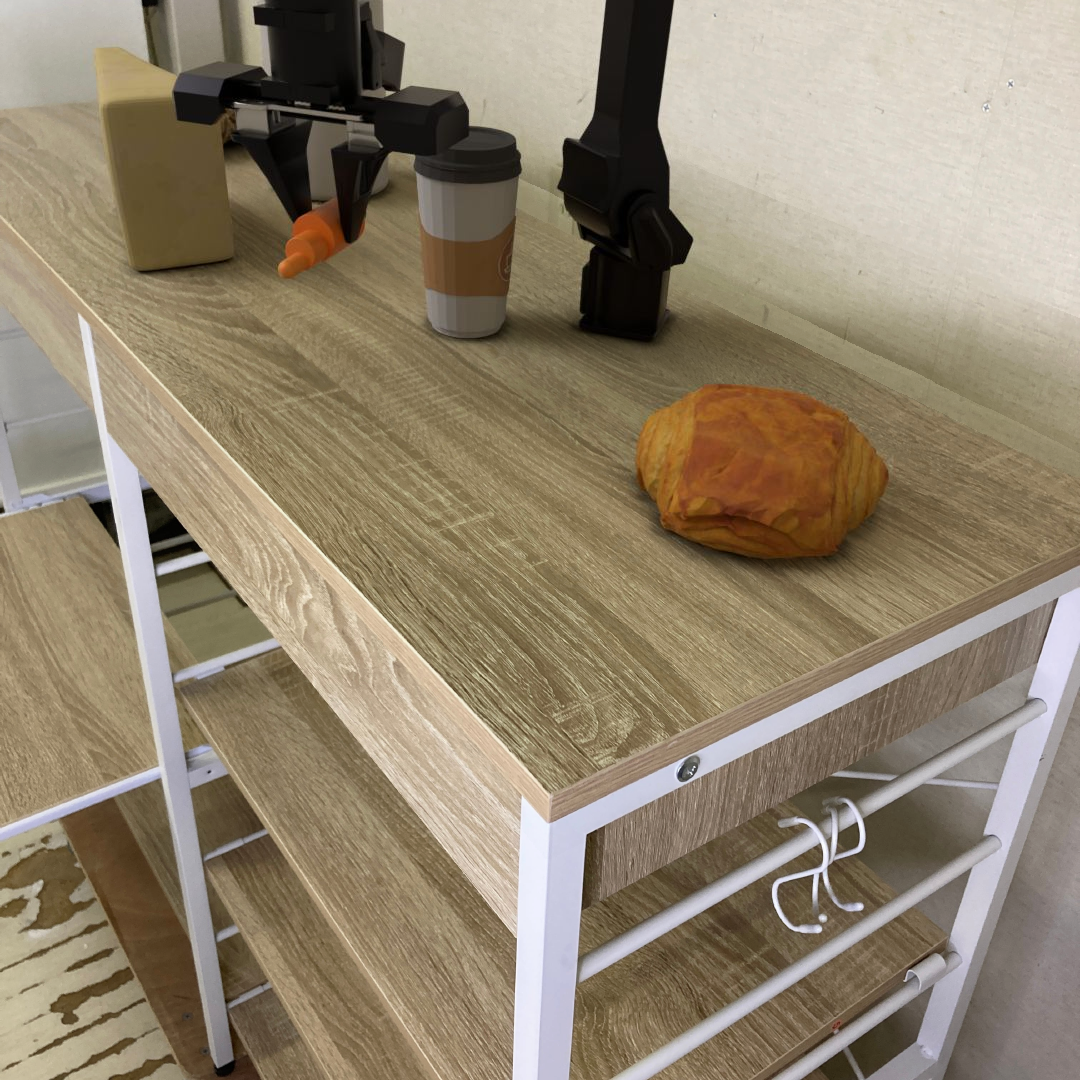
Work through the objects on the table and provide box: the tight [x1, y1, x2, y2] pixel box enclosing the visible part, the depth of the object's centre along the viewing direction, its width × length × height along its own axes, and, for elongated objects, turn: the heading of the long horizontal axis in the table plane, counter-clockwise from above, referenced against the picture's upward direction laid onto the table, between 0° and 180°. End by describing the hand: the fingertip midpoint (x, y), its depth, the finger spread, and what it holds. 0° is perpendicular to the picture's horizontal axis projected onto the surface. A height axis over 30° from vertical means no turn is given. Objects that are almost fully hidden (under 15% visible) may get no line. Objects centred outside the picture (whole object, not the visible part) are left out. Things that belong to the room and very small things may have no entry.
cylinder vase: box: [256, 0, 390, 202], centre depth 114 cm, size 12×12×25 cm
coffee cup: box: [412, 125, 523, 339], centre depth 87 cm, size 8×8×15 cm
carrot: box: [277, 198, 368, 280], centre depth 74 cm, size 10×3×3 cm, turn 160°
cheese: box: [93, 46, 235, 272], centre depth 102 cm, size 22×10×15 cm, turn 29°
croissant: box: [634, 383, 890, 560], centre depth 67 cm, size 14×16×8 cm
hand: (329, 237), depth 75 cm, fingers closed on carrot, 3 cm apart
